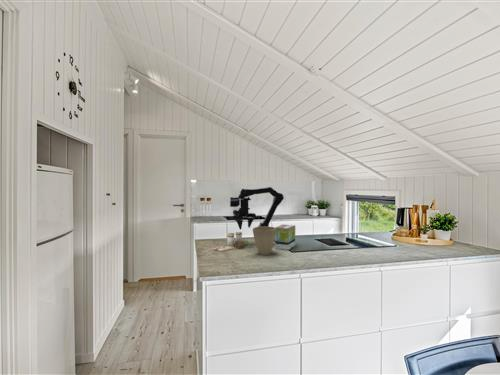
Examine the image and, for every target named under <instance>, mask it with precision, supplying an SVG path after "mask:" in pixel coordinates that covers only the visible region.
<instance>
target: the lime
mask: <svg viewBox="0 0 500 375" xmlns="http://www.w3.org/2000/svg"><path fill="white" fill-rule="evenodd" d="M242 241H244V242H245V246H247V245H248V244H249V240H248V239H246V238H244V239H243V238H242Z"/></svg>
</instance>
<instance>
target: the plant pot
mask: <svg viewBox="0 0 500 375" xmlns="http://www.w3.org/2000/svg"><path fill="white" fill-rule="evenodd" d="M275 233H276V228H275V227H274V226H269V227H258V226H255V227H253V228H252V234H253V239H254V242H255V246H256V248H257V252H258V254H259V255H263V256H265V255H271V254H272V252H273V251H272V250H273V247H274V245H275Z"/></svg>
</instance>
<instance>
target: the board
mask: <svg viewBox="0 0 500 375" xmlns="http://www.w3.org/2000/svg"><path fill="white" fill-rule="evenodd" d="M235 249H236V248H235V246H234V247H231V246H227V245H221V246H217V247H213V248H211V250H212V251H216V252H220V253H224V252H228V251H231V250H235Z"/></svg>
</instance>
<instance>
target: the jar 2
mask: <svg viewBox="0 0 500 375" xmlns="http://www.w3.org/2000/svg"><path fill="white" fill-rule="evenodd" d="M238 240H243V231H236V232H235V241H238Z"/></svg>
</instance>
